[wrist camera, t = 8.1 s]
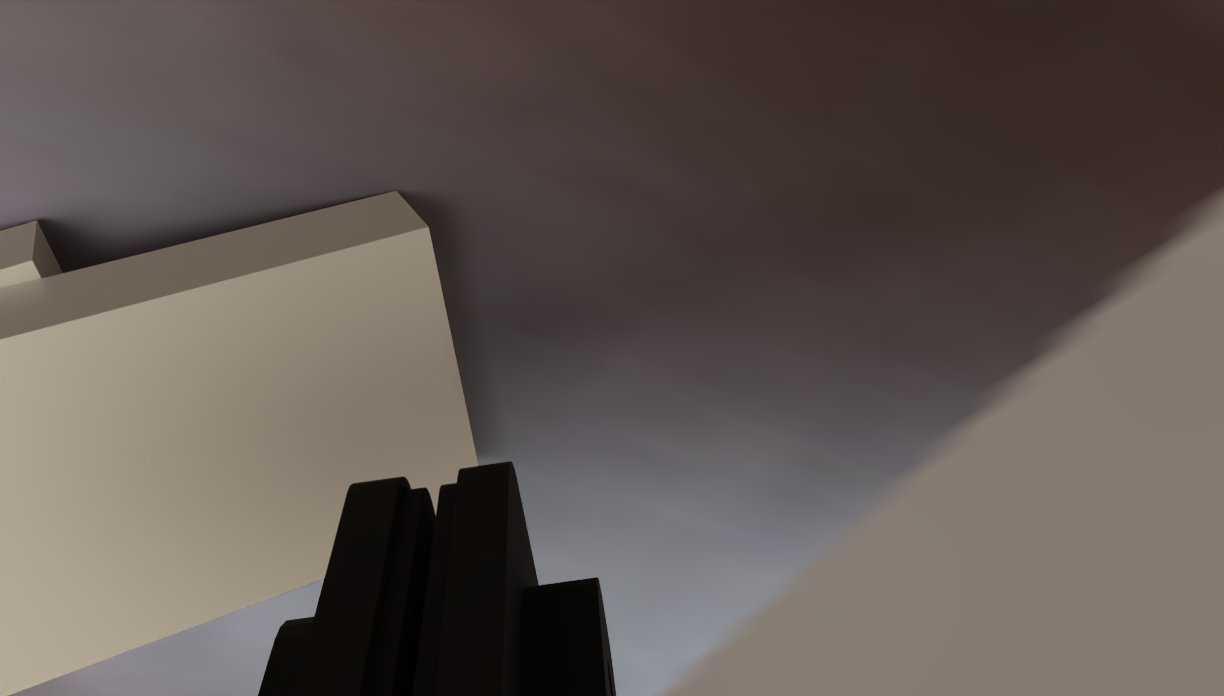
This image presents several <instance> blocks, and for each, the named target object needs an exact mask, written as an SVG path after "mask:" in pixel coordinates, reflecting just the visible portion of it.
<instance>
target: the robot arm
mask: <svg viewBox="0 0 1224 696" xmlns="http://www.w3.org/2000/svg"><path fill="white" fill-rule="evenodd" d="M258 696H616V691H615V682H614V674H613V666H612V658H611V651H610V644H609V637H608V631H607V625H606V618H605V612H604V606H603V600H602V594H601V589H600V583H599V579H598V578H590V579H583V580H576V581H568V582H561V583H554V584H547V585H538V580H537V575H536V570H535V565H534V560H533V555H532V551H531V546H530V541H529V536H528V531H527V526H526V521H525V516H524V512H523V507H522V502H521V497H520V492H519V487H518V482H517V477H516V473H515V469H514V466H513V463H512V462H504V463H496V464H489V465H482V466H475V467H467V468H460V470H459V471H458V476H457V483H453V484H445V485H441V486H440V490H439V496H438V504H437V512H436V515H435V511H434V507H433V503H432V499H431V496H430V493H429V491H428V489H427V488H426V487H424V488H416V489H411V487H410V484H409V482H408V480H407V478H405V477H404V476H402V477H395V478H388V479H380V480H373V481H366V482H359V483H353V484H351V485H350V486H349V489H348V491H347V494H346V498H345V502H344V506H343V510H342V514H341V517H340V521H339V525H338V529H337V533H336V536H335V540H334V544H333V548H332V552H331V556H330V559H329V563H328V567H327V571H326V575H325V578H324V582H323V586H322V590H321V594H320V597H319V601H318V605H317V609H316V613H315V617H309V618H302V619H294V620H287V621H286V622H285V623H284V624H283V625H282V626H281V627H280V629H279V631H278V633H277V636H276V638H275V641H274V644H273V647H272V651H271V654H270V657H269V661H268V664H267V667H266V671H265V674H264V677H263V681H262V684H261V687H260V691H259V694H258Z"/></svg>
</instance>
